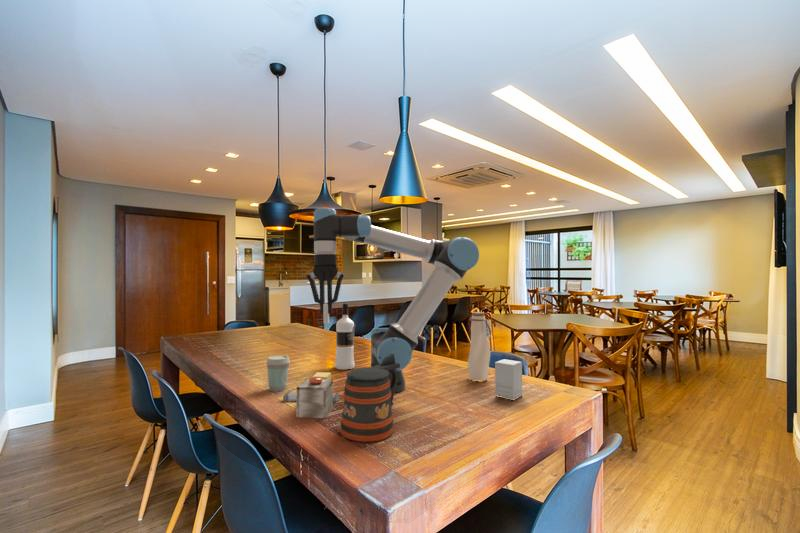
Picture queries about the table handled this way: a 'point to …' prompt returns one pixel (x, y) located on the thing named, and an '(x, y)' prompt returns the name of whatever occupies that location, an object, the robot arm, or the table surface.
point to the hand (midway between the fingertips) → (326, 323)
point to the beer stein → (369, 402)
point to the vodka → (344, 342)
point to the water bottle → (479, 347)
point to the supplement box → (508, 378)
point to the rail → (293, 397)
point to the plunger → (315, 380)
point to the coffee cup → (277, 372)
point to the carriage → (323, 375)
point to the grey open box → (314, 399)
